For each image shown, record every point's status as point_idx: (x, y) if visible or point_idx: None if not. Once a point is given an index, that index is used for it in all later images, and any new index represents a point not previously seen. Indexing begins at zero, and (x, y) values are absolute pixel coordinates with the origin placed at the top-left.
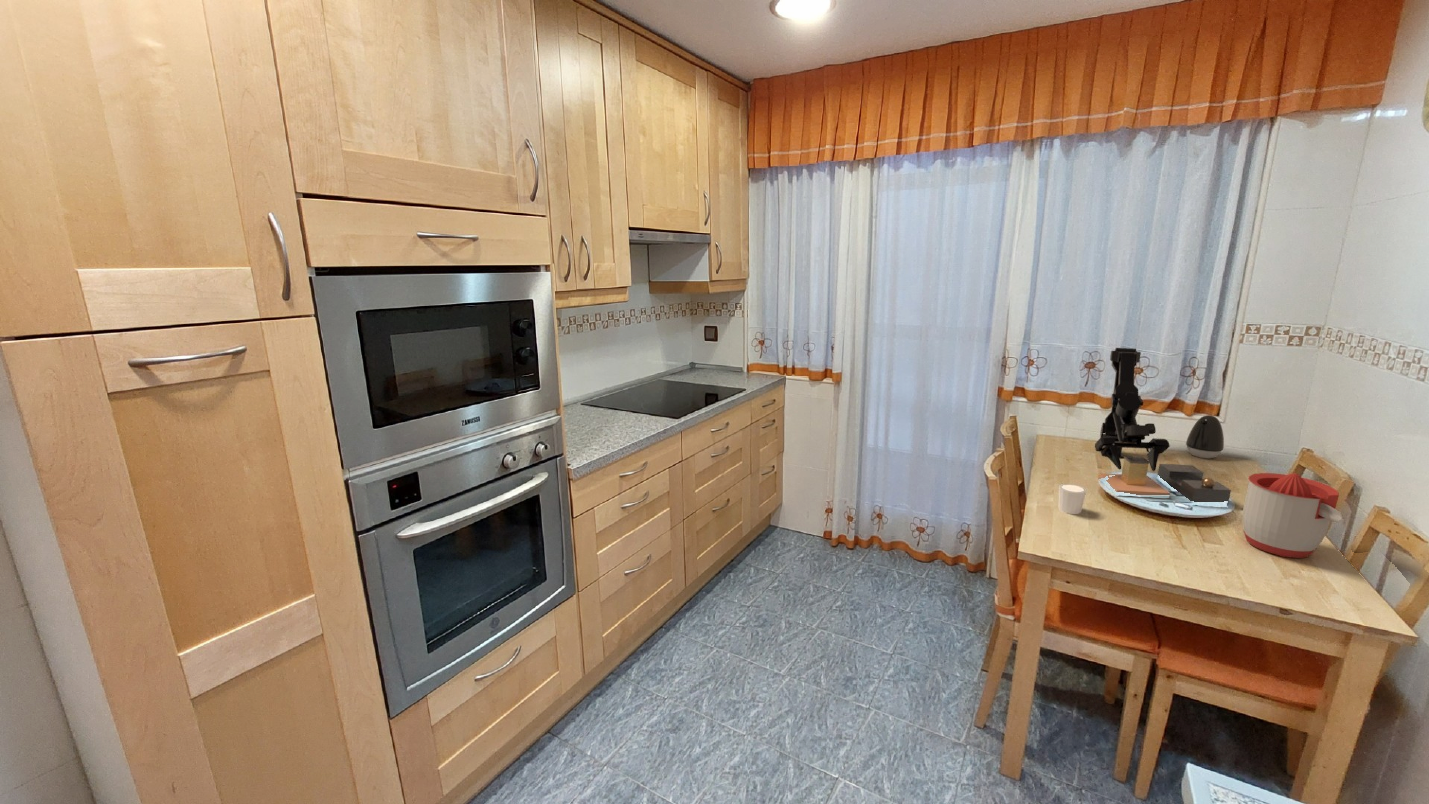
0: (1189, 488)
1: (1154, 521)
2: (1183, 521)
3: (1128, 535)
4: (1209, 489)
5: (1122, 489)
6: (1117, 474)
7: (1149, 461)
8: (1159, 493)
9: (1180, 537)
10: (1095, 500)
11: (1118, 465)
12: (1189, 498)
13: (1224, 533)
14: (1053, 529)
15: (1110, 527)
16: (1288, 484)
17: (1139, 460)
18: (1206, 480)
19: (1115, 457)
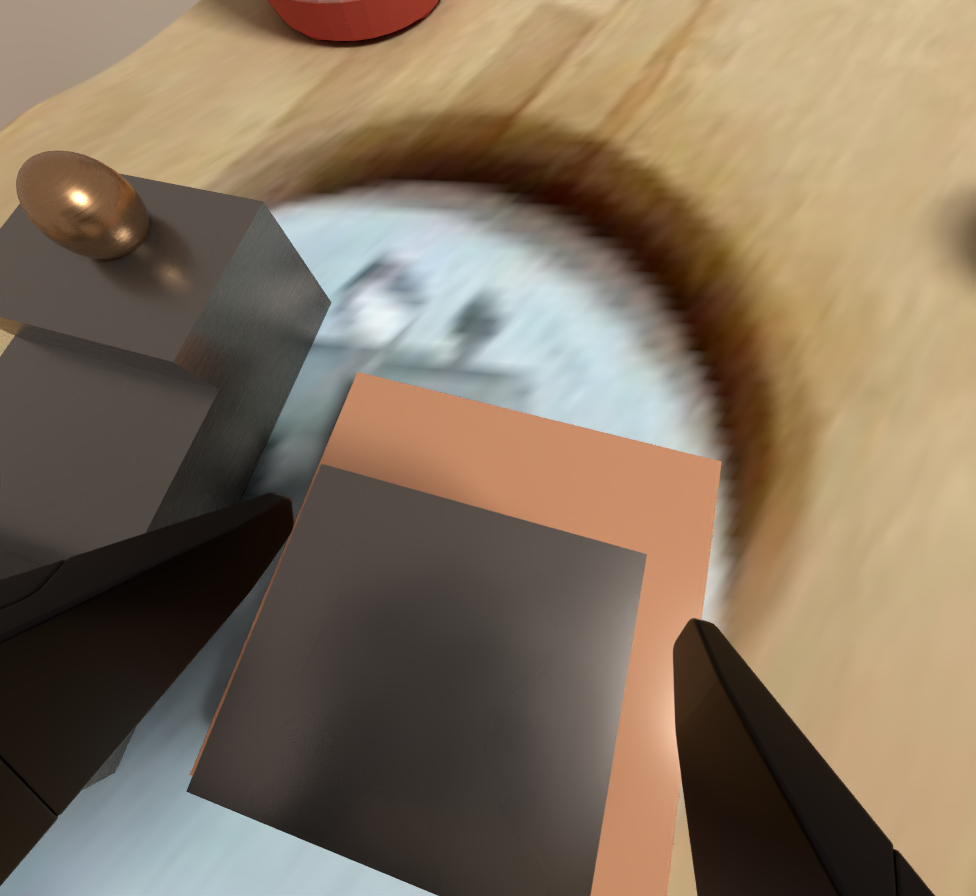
0: (253, 273)
1: (679, 161)
2: (533, 156)
3: (894, 60)
4: (173, 187)
5: (667, 471)
6: None
7: (139, 704)
8: (423, 392)
9: (666, 45)
10: (888, 423)
11: (740, 673)
12: (302, 303)
13: (451, 67)
14: None
15: (950, 120)
16: None
17: (449, 553)
18: (94, 169)
19: (903, 860)
